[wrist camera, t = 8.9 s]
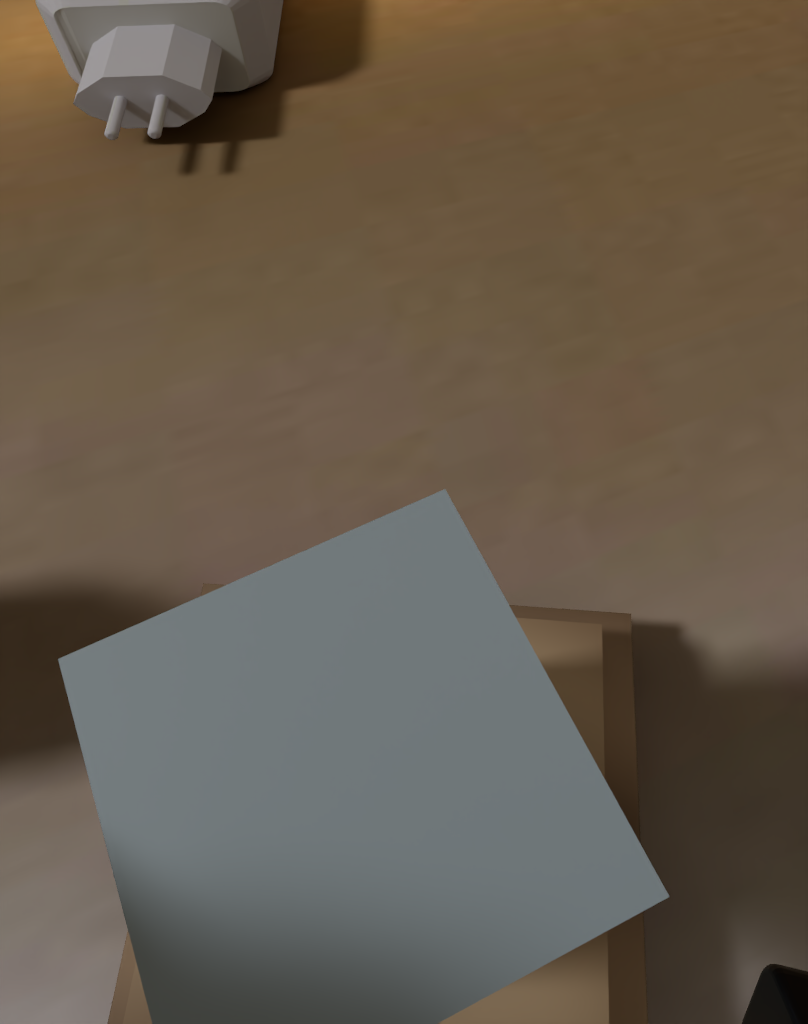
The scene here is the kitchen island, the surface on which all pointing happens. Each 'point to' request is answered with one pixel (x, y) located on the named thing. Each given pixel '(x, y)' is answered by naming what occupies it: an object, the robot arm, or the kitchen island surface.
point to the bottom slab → (622, 780)
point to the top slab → (584, 970)
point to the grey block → (348, 789)
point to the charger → (161, 55)
